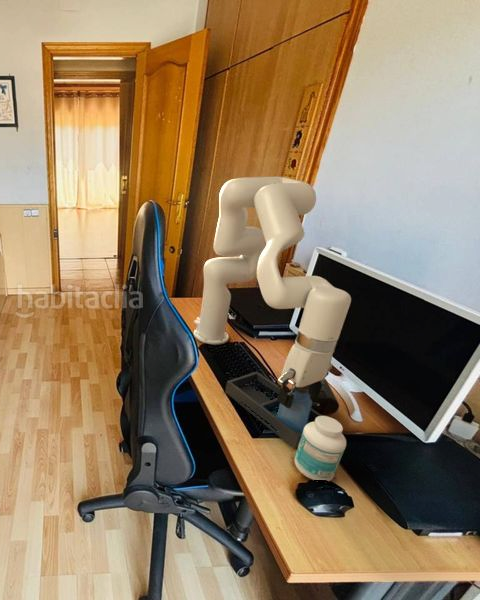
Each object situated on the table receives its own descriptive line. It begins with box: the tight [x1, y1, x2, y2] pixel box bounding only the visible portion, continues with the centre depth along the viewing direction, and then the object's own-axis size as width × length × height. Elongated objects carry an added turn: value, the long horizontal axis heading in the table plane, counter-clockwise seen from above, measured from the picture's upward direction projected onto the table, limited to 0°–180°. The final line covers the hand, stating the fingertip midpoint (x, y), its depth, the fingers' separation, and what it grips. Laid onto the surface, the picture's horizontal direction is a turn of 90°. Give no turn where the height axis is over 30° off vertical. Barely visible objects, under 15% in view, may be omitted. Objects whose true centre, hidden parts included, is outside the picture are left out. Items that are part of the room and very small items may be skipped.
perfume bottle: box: [276, 385, 312, 433], centre depth 82 cm, size 6×6×12 cm
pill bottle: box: [293, 415, 347, 482], centre depth 71 cm, size 8×7×14 cm
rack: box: [224, 371, 322, 450], centre depth 89 cm, size 22×12×4 cm, turn 21°
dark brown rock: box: [308, 377, 340, 416], centre depth 90 cm, size 10×7×7 cm
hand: (297, 399), depth 82 cm, fingers open, 9 cm apart
